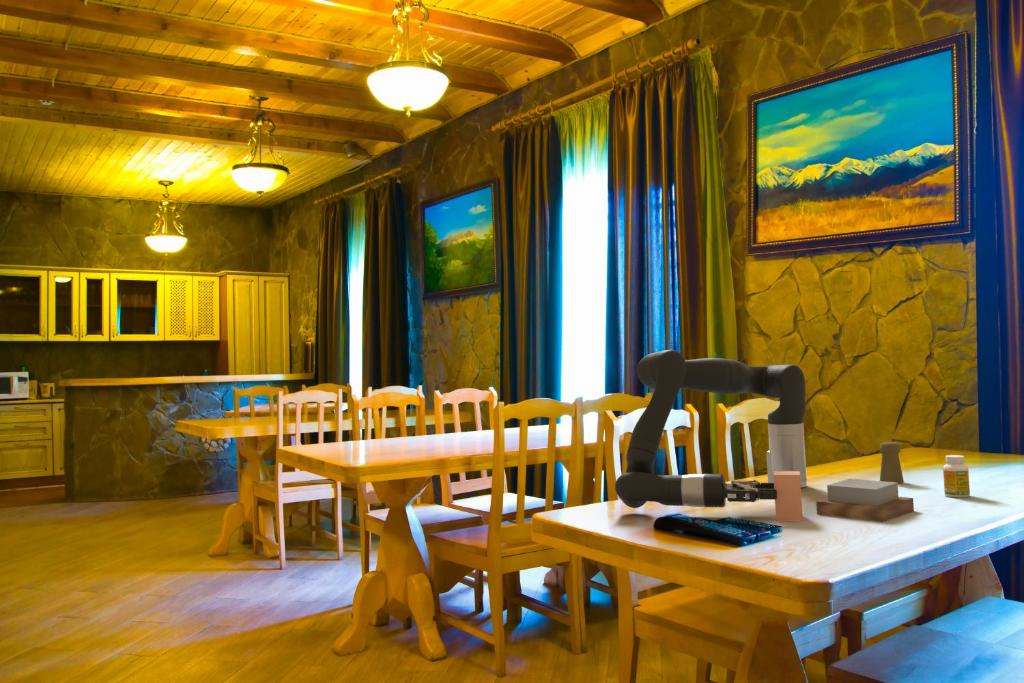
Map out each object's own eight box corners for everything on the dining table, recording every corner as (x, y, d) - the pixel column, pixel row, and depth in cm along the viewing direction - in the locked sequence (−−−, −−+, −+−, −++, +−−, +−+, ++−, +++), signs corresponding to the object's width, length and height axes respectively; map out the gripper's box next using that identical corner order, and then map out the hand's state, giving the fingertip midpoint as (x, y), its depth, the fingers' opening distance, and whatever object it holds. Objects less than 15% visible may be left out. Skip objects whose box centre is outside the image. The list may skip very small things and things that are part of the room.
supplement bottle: (959, 498, 192) (956, 457, 192) (939, 495, 197) (937, 455, 197) (975, 496, 194) (972, 456, 194) (955, 493, 199) (953, 454, 199)
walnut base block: (817, 516, 182) (816, 501, 182) (849, 506, 191) (848, 491, 192) (883, 524, 170) (882, 508, 170) (914, 513, 180) (913, 498, 180)
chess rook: (908, 483, 216) (905, 442, 216) (885, 484, 216) (883, 443, 216) (897, 480, 222) (895, 440, 222) (875, 481, 222) (873, 441, 222)
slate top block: (828, 500, 182) (827, 485, 182) (850, 493, 189) (849, 478, 189) (876, 505, 173) (876, 489, 173) (898, 498, 181) (897, 482, 181)
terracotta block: (776, 520, 177) (773, 474, 177) (776, 515, 182) (773, 471, 182) (802, 520, 175) (800, 474, 175) (802, 515, 180) (799, 471, 180)
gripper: (699, 478, 178) (775, 479, 173) (705, 469, 192) (777, 469, 186) (700, 512, 178) (777, 514, 173) (707, 501, 191) (779, 502, 186)
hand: (777, 491), depth 179 cm, fingers open, 8 cm apart
